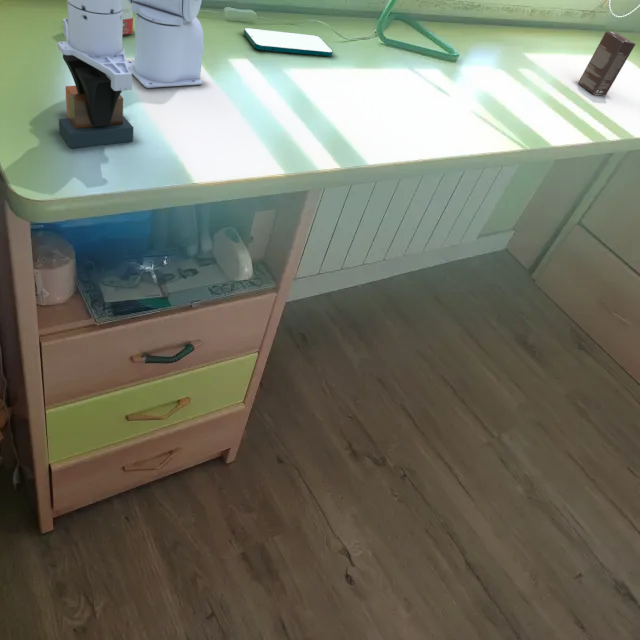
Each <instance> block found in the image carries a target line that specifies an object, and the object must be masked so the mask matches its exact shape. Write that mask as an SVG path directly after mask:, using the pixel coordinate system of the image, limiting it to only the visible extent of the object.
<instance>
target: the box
mask: <svg viewBox="0 0 640 640" xmlns="http://www.w3.org/2000/svg"><path fill="white" fill-rule="evenodd" d="M598 43H599V44H598V45H597V47H596V48H595V50H594V52H593V55H592V56H591V58H590V60H589V61H588V64H587V65H586V67H585V69H584V71H583V73H582V75H581V76H580V79H579V80H578V81H577V83H578V84H579V85H580V86H581V87H583V88H584V89H586V90H587V91H589V92H590V93H591V94H593V96H606V95H608V93H609V91H610V89H611V88H612V86H613V84H614V82H615V80H616V79H617V78H618V76H619V74H620V72H621V70H622V68H623V66H624V65H625V64H626V61H627V60H628V58H629V57H630V55H631V53H632V52H633V49H634V48H635V47H636V45H637V44H636V43H635V42H634V41H632V40H630V39H628V38H627V37H625V36H624V35H622V34H620V33H617V32H613V31H608V30H606V31H605V33H604V34H603V36H602V38H601V40H600V42H598Z"/></svg>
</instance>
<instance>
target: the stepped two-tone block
mask: <svg viewBox="0 0 640 640" xmlns="http://www.w3.org/2000/svg"><path fill="white" fill-rule="evenodd" d="M69 115H70V118H68V117H66V118H58V132H59V135H60V137H61V138H62V139H63V140H64V142H65V143H66V144H67V146H68V147H69V148H70V149H77V148H86V147H87V148H88V147H96V146H105V145H111V144H120V143H129V142H134V126H133V125H132V124H131V123H130V122H129V120H128V119H127V118H126V117H125V116H124V97H123V96H122V95H121V94H120V95H119V98H118V100H117V102H116V105H115V109H114V112H113V116H112V119H111V122H110V125H108V126H98V127H94V126H93V125H92V124H91V121H90V117H89V113H88V106H87V99H86V95H85V94H70V95H69Z"/></svg>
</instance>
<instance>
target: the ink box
mask: <svg viewBox="0 0 640 640" xmlns="http://www.w3.org/2000/svg"><path fill="white" fill-rule="evenodd" d="M133 31H134V12H133V11H132V4H130V3H129V2H128V1H127V0H123V30H122V36H127V35H132V34H133V33H134V32H133Z"/></svg>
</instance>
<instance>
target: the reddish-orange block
mask: <svg viewBox="0 0 640 640" xmlns="http://www.w3.org/2000/svg"><path fill="white" fill-rule="evenodd" d="M70 94H78V92H77V89H76V85H65V102H66V103H65V104H66V105H65V106H66V116H67V118H70V115H69V95H70Z"/></svg>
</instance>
